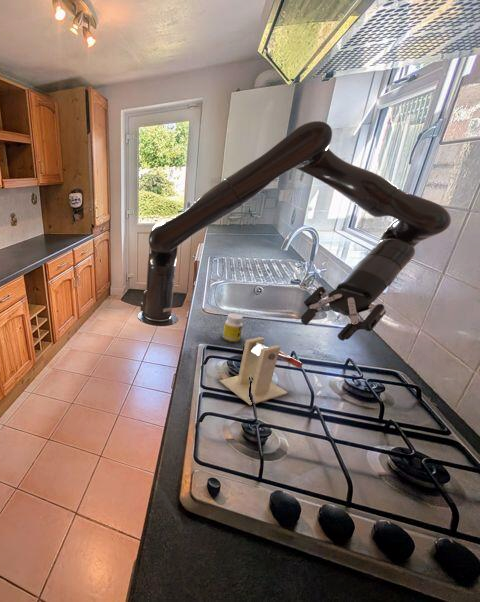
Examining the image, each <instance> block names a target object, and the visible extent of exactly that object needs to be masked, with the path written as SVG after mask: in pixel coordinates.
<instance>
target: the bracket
mask: <svg viewBox="0 0 480 602" xmlns="http://www.w3.org/2000/svg"><path fill="white" fill-rule="evenodd" d="M264 342H265V338H264V337H262V336H258V337H254V338H249V339H245V342H244V348H243V353H242V357H241V361H240V367H239V372H238V375H235V376H231V377H227V378H223V379H220V380H219V382H220V383H221V384H222V385H224V386H225V387H226V388H227V389H229V390H230V391H231V392H232V393H234V394H235V395H236V396H237V397H239V398H240V399H241V400H243V401H244V402H245V403H247V405H249V406H253V405H252V402H251V400H250V397H249V387H250V380H249V377H250V375H251V377H252V378H253V380H252V383H251V390H252V391H251V393H252V395H253V397H254V400H255V404H254V405H256V404H259V403H262V402H266V401H268V400H269V401H270V400H271V399H275V398H278V397H282V396H284V395H287V394H288V391H286V390H285V389H283V388H281V386H279V385H277V384H276V383H274V382H273V377H274V373H275V368H276V366H277V361H278V354H279V351H281V350H280V349H281V346H279V345H277V344H276V345H271V346H266V347H267V348H263V349H261V352H260V356H257V355H255V354H254V353H252V352H251V350H252V348H253V347H254V345H255V343H259V344H262V345H264Z"/></svg>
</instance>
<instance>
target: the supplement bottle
mask: <svg viewBox="0 0 480 602" xmlns="http://www.w3.org/2000/svg"><path fill="white" fill-rule="evenodd" d="M242 322H243V316H242V315H241V314H238V313H229V314H228V315H227V320H225V322H224V328H223V334H222V339H223V340H224V341H227V342H231V343H237V342H240V341H241V335H242V332H243V331H242V330H243V326H244V325H243V323H242Z"/></svg>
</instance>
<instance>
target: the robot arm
mask: <svg viewBox="0 0 480 602" xmlns="http://www.w3.org/2000/svg"><path fill="white" fill-rule="evenodd" d="M332 139H333V130H332V126H331V125H329V124H328V123H327V122H324V121H321V120H315V121H309V122H306V123H304V124H302V125H300V126H298V127H296V128H295V129H294V130H293V131H291V132H290V133H289V134H287V136H285V137H284V138H283V139H282V140H281V141H278V143H276V144H275V145H274V146H273V147H271V149H270V148H269V150H268V151H267V152H265V153H264V154H262V155H261V156H259V157H257V158H256V159H254V160H253V161H251V162H249V163H247V164H246V165H244V166H243V167H241V168H239V170H237V171H235V172H234V173H232V174H231V175H229V176H228V177H226V178H224V179H223V180H221V181H220V182H219V183H217V184H216V185H214V186H213V187H211V188H209V190H207V191H206V192H205V193H204V194H202V195H201V196H200V197H199V198H198V199H197V200H196V201H194V202H193V203H192V204H191V205H190V206H189V207H188V208H186V210H184V211H183V212H181V213H180V214H178V215H176V216H175V217H173V218H171V219H169V220H168V221H161V222H158V223H156V224H155V225H154V226H153V227H152V229H150V230H151V231H150V233H149V235H148V244H149V245H148V246H149V249H148V258H147V259H148V260H147V268H146V269H147V270H146V286H145V287H146V288H145V290H144V291H143V296H142V302H141V303H140V312H141V311H142V316H144V317H145V318H146V319H147V320H149V321H153V322H167V321H169V320H170V319H171V312H173V311H172V310H173V300H174V291H175V290H174V289H175V280H176V271H177V270H176V269H177V259H178V249H179V246H180V245H182V244H183V243H184V242H185V241H187V240H188V239H190V237H192V236H193V235H195V234H196V233H198V232H200V231H201V230H204V229H205V228H207V227H209V226H210V225H212V224H214V223H216V222H218V221H219V220H221V219H223V218H225V217H226V216H229V215H230V214H232V213H233V212H235V211H237V210H238V209H240V208H242V207H243V206H244V205H246V204H248V203H249V202H250V201H251V200H253V199H254V198H255V197H256V196H257V195H259V194H260V193H261V192H262V191H263V190H264V189H266V187H268V186H269V185H270V184H271V183H273V182H275V180H276V179H278V178H279V177H281V176H282V175H284V174H286V173H287V172H289V171H291V170H292V169H296V170H299V171H300V172H302V173H304V174H306V175H309V176H310V177H313V178H315V179H317V180H319V181H320V182H321V183H323V184H325V185H327V186H328V187H330V188H332V189H333V190H335V191H336V192H337V193H339V194H341V195H342V196H344V197H345V198H347V199H348V200H349V201H351V202H352V203H353V204H355V205H356V206H357V207H359V208H360V209H362V210H363V211H365V212H366V214H368V215H370V216H371V217H374V218H379V219H381V218H384V217H391V218H394V219H395V220H394V221H392V223H391V224H390V225H389V226H388V227H387V228H386V230H385V231H384V232H383V233H382V235H381V237H380V239H379V241H378V243H377V244H376V245H375V246H374V247H372V249H371V250H370V251H369V252H368V253H367V254H366V255H365V257H364V258H363V259H361V260H360V261H359V262H358V263H356V265H355V266H354V267H353V268H352V269H351V270H350V271H349V272H348V273H347V274H346V275H345V277H343V278H342V280H341V281H340V282H339V283H338V284H337V286H336V287H335V288H334V289H333V290H327V289H325V288H324V286H319V287H318V288H316V289H315V290H314V291H313V292H312V293H311V294H310V295H309V296H308V297H307V298H306V299H305V300H304V301H303V304H304V306H305V307H306V311H305V312H304V313H303V314H302V315H301V316H300V322H301V324H302V325H304V326H307V325H308V324H310V322H311V321H312V320H313V319H314V318H315V317H316V316H317V314H320V313H322V312H325V313H327V312H329V311H332V312H335V313H338V314H339V313H340V314H342V316H346V317H347V316H349V317H350V323H349V322H348V323H346V325H345V326H344V327H343V328H342V330H340V331H339V333H338V334H337V338H338V340H340V341H342V342H344V341H345V340H346V341H347V340H349V339H351V338H352V337H353V335H354V334H356V332H357V331H359V330H364V331H366V332H371V331H372V330H373V329H374V328H375V327H376V326H377V324H378V323H379V322H380V321H381V320H382V318H383V317H384V316H385V314H387V311H386V307H385V306H384V305H383V304H382V303H378V304H374V302H375V301H376V300H377V299H378V298H379V297H380V296H381V295H382V294H383V292H385V291H386V289H387V288H388V287H390V286H391V285H392V283H393V282H394V281H395V280H396V278H397V277H398V275H399V273H401V272H402V270H403V269H404V268H405V267H406V266H407V265H408V264H409V263H410V262H411V261H412V259H413V258H414V256H415V254H416V249H415V247H416V246H417V245H418V244H419V243H421V242H422V241H425V240H427V239H430V238H432V237H434V236H437V235H439V234H441V233H443V232H445V231H446V230H447V229H448V228H449V227H450V225H451V222H452V217H451V215H450V213H449V211H448V210H447V209H446V208H445V207H444V206H442V205H441V204H439V203H437V202H435V201H432V200H429V199H426V198H424V197H421V196H417V195H415V194H412V193H408V192H405V191H403V190H402V189H401V188H400V187H398V186H396V185H395V184H393V183H392V182H390V181H389V180H388V179H386V178H384V177H383V176H381V175H379V174H377V173H375V172H373V171H370V170H368V169H366V168H362V167H359V166H356V165H354V164H352V163H350V162H347V161H345V160H343V159H342V158H340V157H339V156H338V155H336V154H335V153H334V152H333V151H332V149H331V150H330V148H329V147H330V145H331V142H332ZM366 311H369V314H368V315H367V316H366V318H365V319H364V320H363V321H361V316H360V313H362V312H366Z"/></svg>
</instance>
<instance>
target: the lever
mask: <svg viewBox="0 0 480 602" xmlns="http://www.w3.org/2000/svg"><path fill="white" fill-rule="evenodd" d="M267 347H268V346H267V345H265V344H263V345H262V344H259V343H255V345H254V347H253V348H252V350H251V352H252V353H254V354H255V355H257V356H260V352H261V349H263V348H267ZM277 360H282V361H284V362H287V363H288V364H290V365H292V366H294V367H296V368H297V369H300V368H302V366H303V362H301V361H300V360H298V359H296V358H294V357H292V356H291V355H289V354H286V353H284V352H283V351H281V350H279V354H278V358H277Z"/></svg>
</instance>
